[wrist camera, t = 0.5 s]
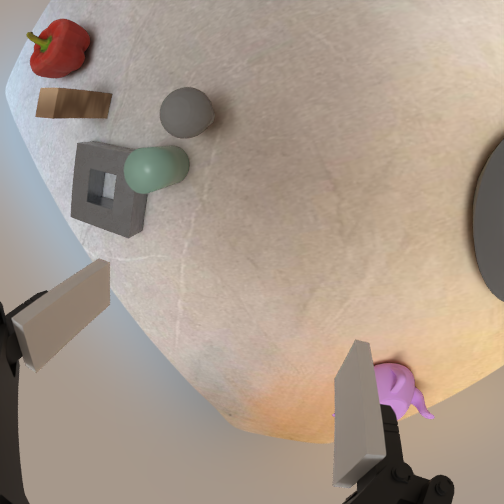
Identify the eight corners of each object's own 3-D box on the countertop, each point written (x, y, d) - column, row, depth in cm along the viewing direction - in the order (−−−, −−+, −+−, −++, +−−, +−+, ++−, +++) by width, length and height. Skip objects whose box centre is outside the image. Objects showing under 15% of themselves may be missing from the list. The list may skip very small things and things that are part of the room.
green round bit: (158, 142, 40) (127, 144, 33) (193, 150, 40) (166, 152, 32) (151, 179, 42) (121, 188, 35) (184, 188, 42) (158, 198, 34)
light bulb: (229, 136, 38) (203, 135, 29) (187, 140, 39) (151, 141, 30) (227, 93, 36) (200, 79, 27) (185, 98, 37) (149, 89, 28)
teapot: (424, 384, 45) (435, 418, 37) (359, 414, 50) (361, 449, 42) (403, 343, 43) (415, 380, 35) (331, 379, 48) (331, 417, 40)
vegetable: (48, 63, 38) (9, 58, 29) (79, 17, 34) (41, 5, 25) (74, 91, 39) (31, 88, 30) (108, 41, 35) (68, 27, 26)
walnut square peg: (94, 92, 39) (40, 88, 28) (112, 93, 39) (58, 87, 28) (89, 116, 40) (35, 116, 29) (107, 118, 40) (52, 118, 29)
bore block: (93, 141, 42) (77, 142, 38) (154, 153, 41) (140, 155, 37) (85, 210, 46) (70, 216, 43) (142, 230, 45) (128, 238, 42)
